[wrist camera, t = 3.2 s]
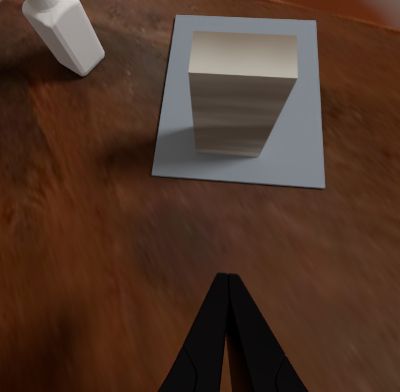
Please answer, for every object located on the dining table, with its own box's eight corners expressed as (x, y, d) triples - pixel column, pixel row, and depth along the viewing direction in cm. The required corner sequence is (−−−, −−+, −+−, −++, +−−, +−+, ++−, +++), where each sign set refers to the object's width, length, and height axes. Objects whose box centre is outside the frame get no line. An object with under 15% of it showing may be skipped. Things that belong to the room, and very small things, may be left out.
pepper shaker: (108, 56, 27) (57, -52, 18) (84, 80, 26) (18, -19, 17) (82, 40, 27) (20, -71, 18) (58, 64, 27) (-20, -40, 17)
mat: (323, 189, 22) (325, 187, 22) (152, 175, 23) (151, 174, 22) (314, 23, 27) (315, 20, 27) (176, 17, 28) (176, 14, 28)
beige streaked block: (258, 157, 22) (297, 78, 13) (195, 152, 23) (188, 72, 13) (259, 129, 23) (296, 35, 14) (198, 125, 24) (193, 30, 14)
